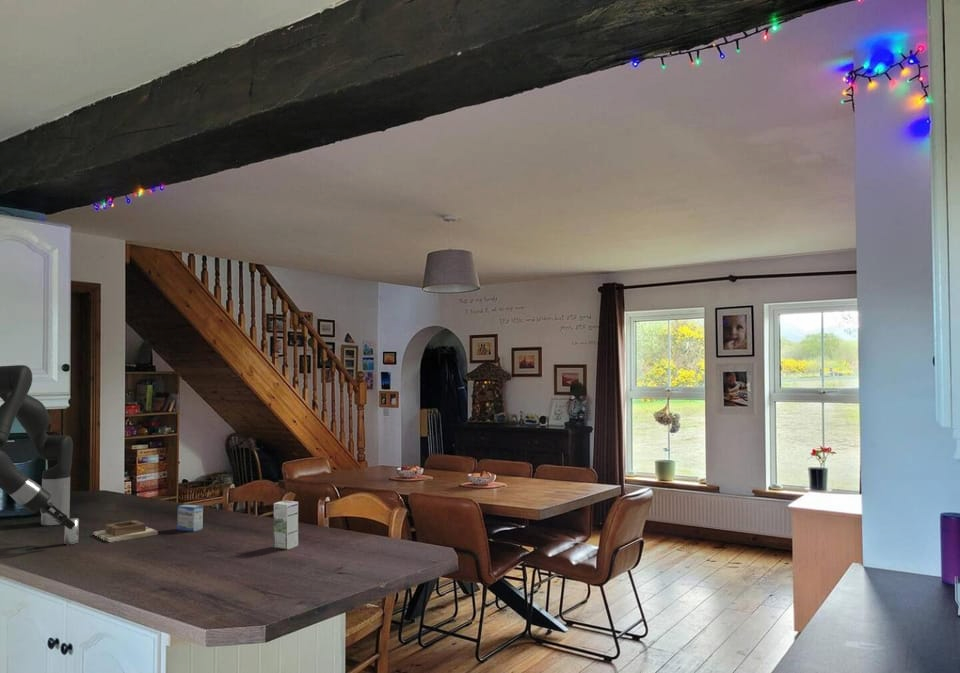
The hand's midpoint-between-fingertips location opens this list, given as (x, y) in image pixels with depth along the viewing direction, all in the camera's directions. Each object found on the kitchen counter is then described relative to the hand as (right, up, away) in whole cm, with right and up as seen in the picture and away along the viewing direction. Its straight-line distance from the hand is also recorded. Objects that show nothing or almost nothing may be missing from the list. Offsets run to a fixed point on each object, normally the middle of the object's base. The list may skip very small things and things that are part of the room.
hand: (68, 524), depth 231 cm
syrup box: (+74, -6, -7) cm, 75 cm away
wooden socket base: (+12, -7, +13) cm, 19 cm away
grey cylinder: (+1, -6, 0) cm, 6 cm away
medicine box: (+32, -7, +20) cm, 39 cm away
